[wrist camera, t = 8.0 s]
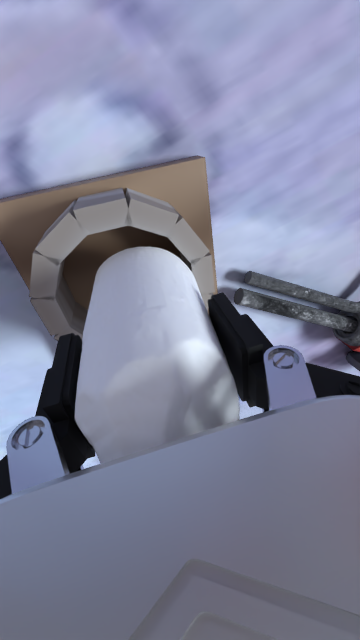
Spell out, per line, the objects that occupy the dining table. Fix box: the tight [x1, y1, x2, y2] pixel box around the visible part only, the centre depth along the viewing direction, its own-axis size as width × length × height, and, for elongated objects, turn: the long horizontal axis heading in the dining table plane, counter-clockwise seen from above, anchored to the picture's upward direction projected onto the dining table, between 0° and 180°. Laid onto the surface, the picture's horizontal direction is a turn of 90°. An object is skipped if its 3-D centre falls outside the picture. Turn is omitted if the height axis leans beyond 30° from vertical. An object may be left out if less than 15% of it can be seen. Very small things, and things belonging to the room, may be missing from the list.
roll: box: [75, 247, 240, 464], centre depth 11 cm, size 6×12×6 cm
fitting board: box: [0, 156, 218, 341], centre depth 19 cm, size 20×12×4 cm, turn 10°
